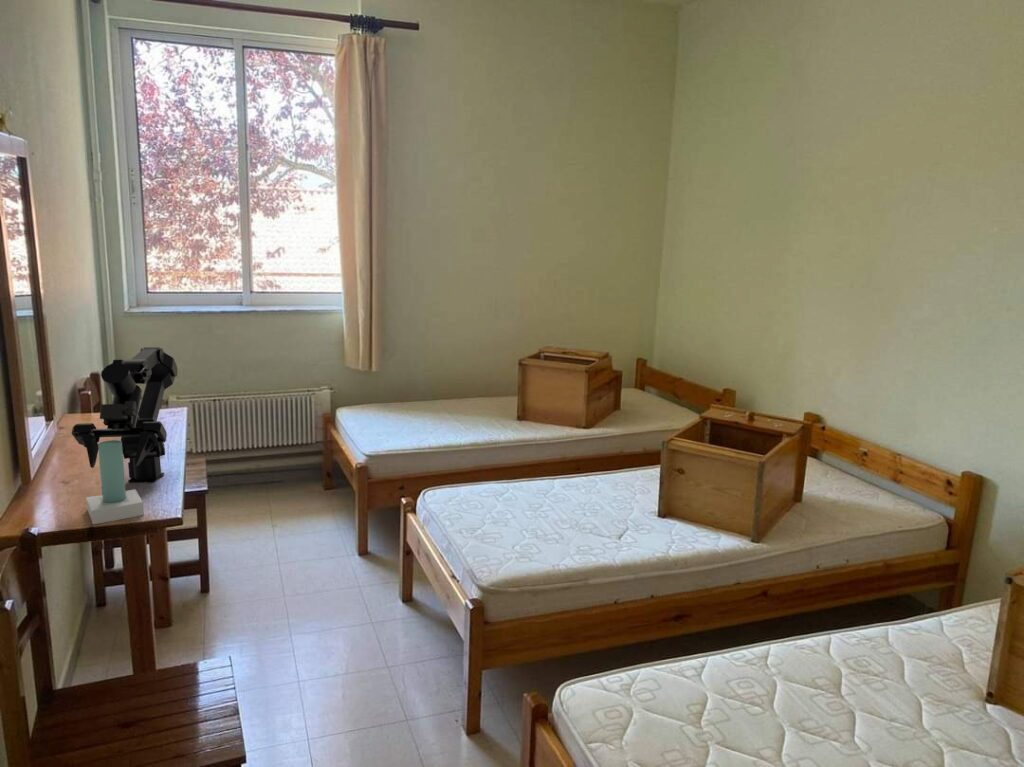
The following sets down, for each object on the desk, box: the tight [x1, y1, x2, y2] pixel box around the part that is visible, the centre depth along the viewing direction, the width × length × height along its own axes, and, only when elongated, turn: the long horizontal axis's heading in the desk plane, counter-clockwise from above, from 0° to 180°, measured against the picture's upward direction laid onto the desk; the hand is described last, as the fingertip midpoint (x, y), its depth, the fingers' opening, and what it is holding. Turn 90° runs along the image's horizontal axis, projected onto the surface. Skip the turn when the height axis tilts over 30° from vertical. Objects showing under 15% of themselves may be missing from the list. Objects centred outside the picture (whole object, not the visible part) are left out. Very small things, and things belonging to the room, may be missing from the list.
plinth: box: [85, 489, 145, 525], centre depth 164 cm, size 10×10×3 cm
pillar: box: [98, 439, 127, 503], centre depth 163 cm, size 5×5×13 cm
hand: (114, 466), depth 164 cm, fingers open, 9 cm apart
